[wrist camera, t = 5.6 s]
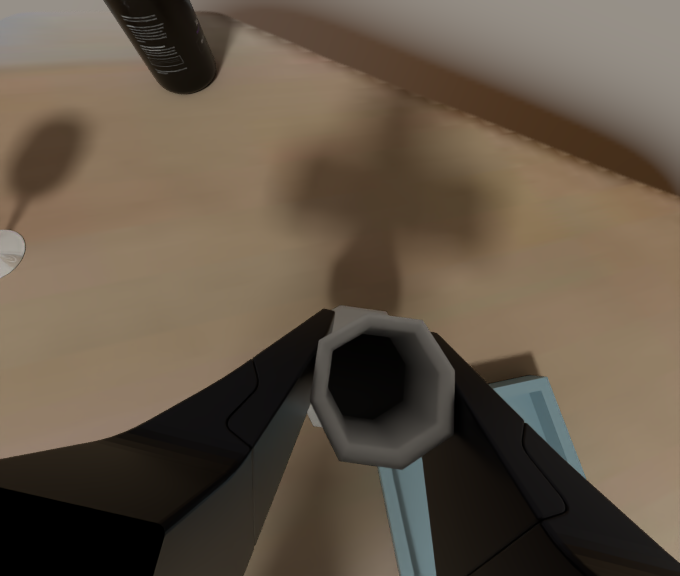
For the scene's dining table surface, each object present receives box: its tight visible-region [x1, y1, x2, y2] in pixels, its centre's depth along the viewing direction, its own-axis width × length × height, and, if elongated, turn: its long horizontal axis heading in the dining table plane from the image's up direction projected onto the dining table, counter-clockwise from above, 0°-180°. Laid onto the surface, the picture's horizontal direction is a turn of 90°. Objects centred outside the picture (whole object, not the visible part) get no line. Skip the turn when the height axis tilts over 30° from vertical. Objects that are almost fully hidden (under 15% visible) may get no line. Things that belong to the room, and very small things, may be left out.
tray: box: [377, 375, 586, 576], centre depth 18 cm, size 14×14×2 cm
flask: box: [307, 305, 455, 470], centre depth 10 cm, size 7×7×10 cm
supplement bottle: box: [104, 0, 216, 94], centre depth 23 cm, size 7×7×12 cm
